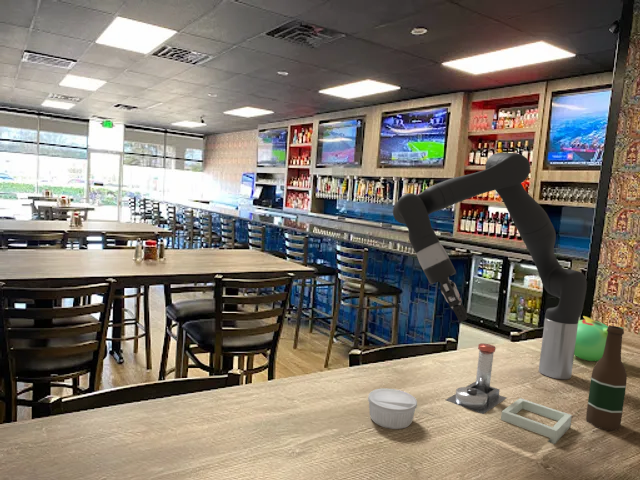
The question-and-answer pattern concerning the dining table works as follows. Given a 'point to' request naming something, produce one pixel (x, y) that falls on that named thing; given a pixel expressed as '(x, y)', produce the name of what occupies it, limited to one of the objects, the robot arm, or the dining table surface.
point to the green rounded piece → (590, 339)
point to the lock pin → (484, 367)
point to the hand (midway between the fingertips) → (463, 318)
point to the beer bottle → (608, 385)
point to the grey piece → (476, 398)
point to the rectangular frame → (545, 430)
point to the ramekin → (391, 408)
